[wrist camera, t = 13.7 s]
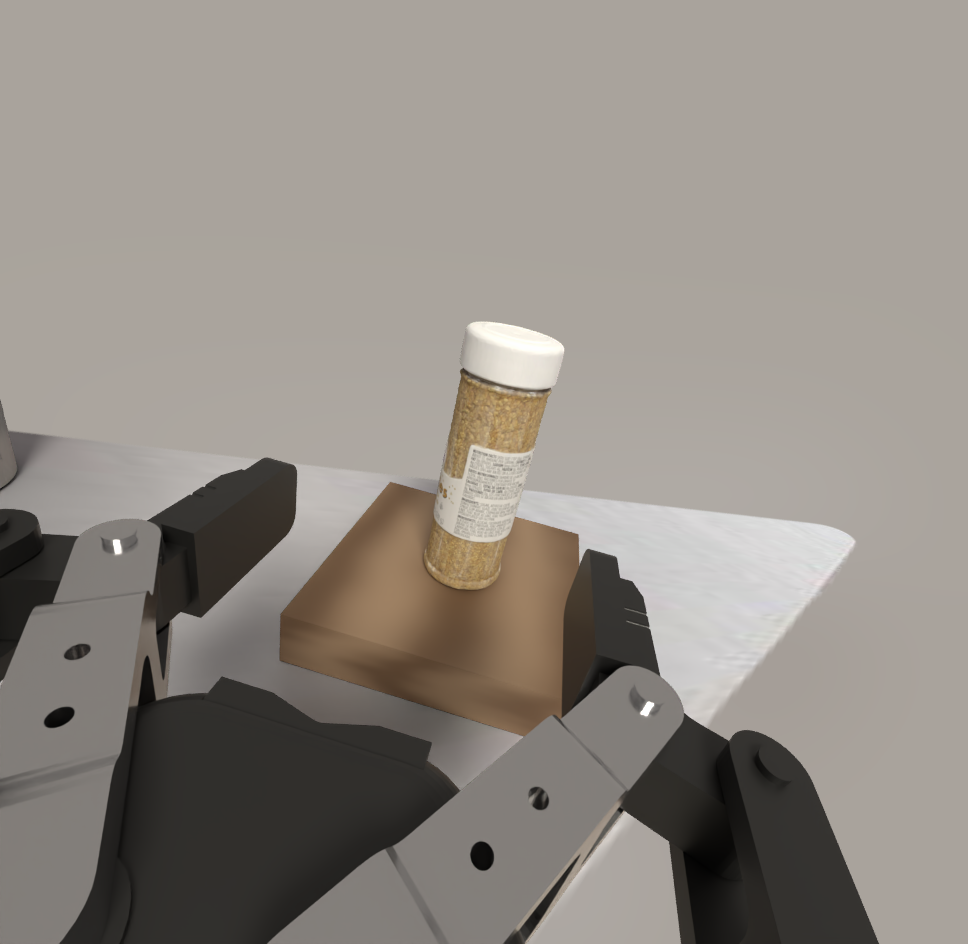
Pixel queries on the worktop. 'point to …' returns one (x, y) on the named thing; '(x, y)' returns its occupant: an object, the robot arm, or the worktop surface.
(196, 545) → the robot arm
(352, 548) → the walnut base
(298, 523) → the worktop surface
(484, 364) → the spice jar
